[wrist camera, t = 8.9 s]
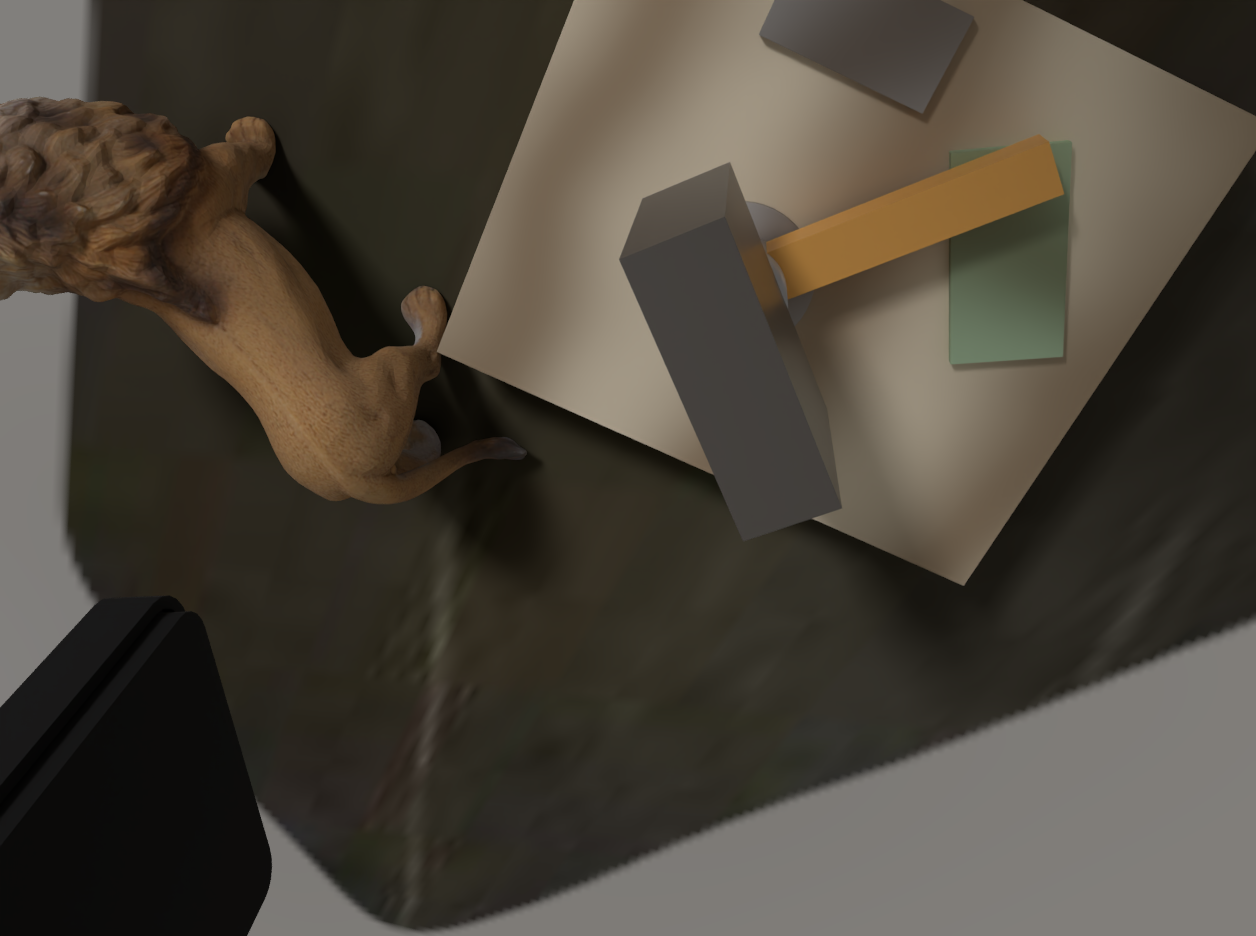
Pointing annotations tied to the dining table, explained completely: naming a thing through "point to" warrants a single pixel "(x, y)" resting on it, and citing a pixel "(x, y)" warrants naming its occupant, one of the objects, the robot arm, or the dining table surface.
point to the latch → (786, 312)
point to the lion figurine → (220, 287)
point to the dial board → (832, 183)
